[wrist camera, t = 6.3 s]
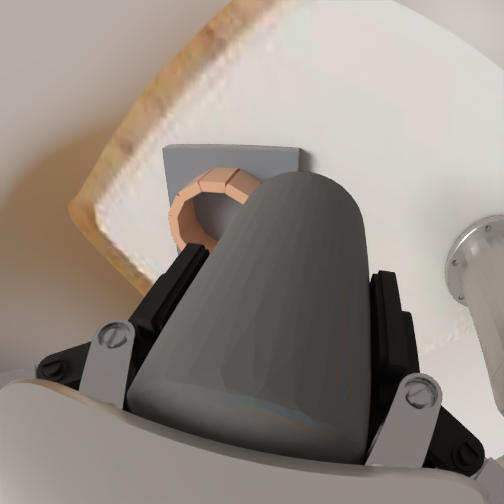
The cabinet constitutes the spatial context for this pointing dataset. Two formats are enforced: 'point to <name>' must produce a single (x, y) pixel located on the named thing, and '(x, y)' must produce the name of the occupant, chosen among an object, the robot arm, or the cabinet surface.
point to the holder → (216, 185)
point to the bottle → (273, 331)
